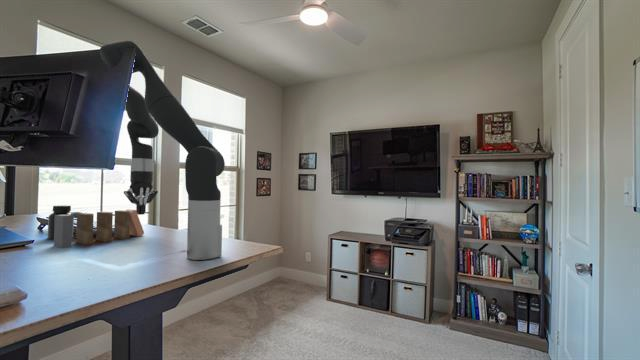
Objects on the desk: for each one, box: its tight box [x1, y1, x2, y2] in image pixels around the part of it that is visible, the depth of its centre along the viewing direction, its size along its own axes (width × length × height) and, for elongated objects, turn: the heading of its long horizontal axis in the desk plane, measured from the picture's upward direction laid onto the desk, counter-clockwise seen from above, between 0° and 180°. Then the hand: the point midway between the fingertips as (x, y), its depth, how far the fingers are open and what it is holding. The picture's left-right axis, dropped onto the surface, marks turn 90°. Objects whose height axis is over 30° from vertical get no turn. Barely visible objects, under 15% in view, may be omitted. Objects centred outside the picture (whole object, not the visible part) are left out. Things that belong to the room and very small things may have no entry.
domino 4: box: [124, 209, 145, 237], centre depth 113 cm, size 2×5×10 cm, turn 65°
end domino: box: [53, 215, 73, 249], centre depth 93 cm, size 2×5×10 cm, turn 65°
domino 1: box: [75, 212, 95, 246], centre depth 98 cm, size 2×5×10 cm, turn 65°
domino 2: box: [95, 211, 114, 243], centre depth 104 cm, size 2×5×10 cm, turn 65°
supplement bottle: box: [47, 205, 75, 241], centre depth 104 cm, size 7×7×12 cm
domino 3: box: [113, 209, 130, 240], centre depth 109 cm, size 2×5×10 cm, turn 65°
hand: (140, 214), depth 116 cm, fingers closed
